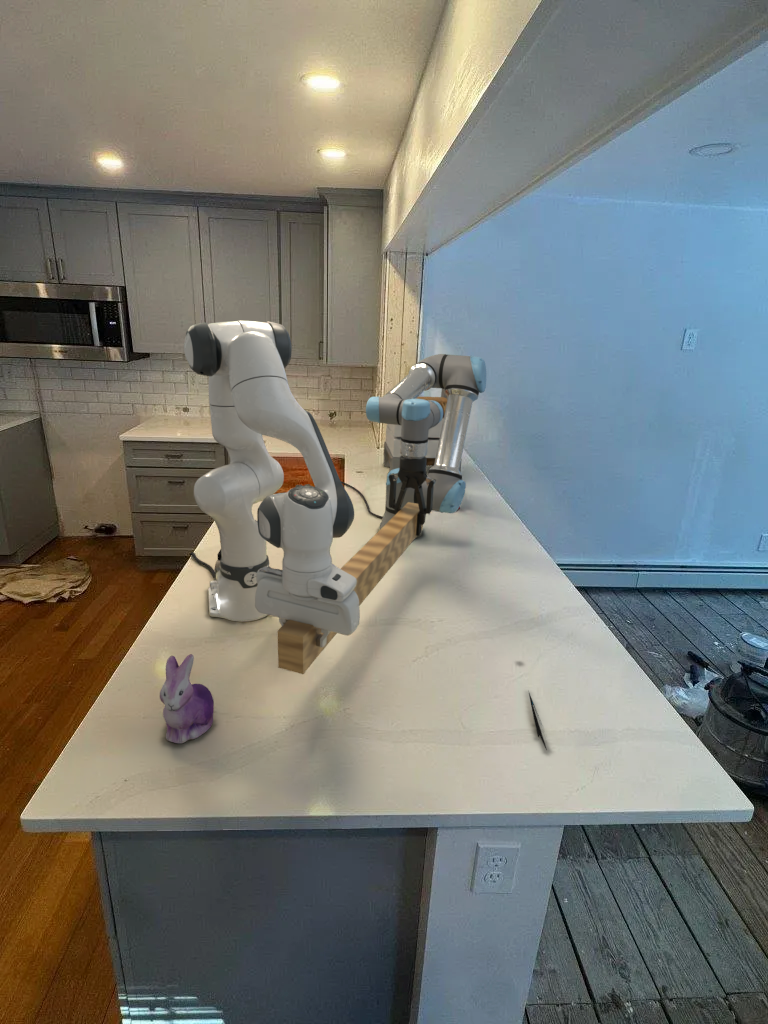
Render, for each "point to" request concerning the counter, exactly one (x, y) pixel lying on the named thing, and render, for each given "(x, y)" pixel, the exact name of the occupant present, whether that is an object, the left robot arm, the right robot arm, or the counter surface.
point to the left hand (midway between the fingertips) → (305, 641)
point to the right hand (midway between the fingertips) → (409, 532)
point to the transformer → (394, 438)
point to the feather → (536, 721)
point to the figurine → (185, 702)
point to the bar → (368, 571)
